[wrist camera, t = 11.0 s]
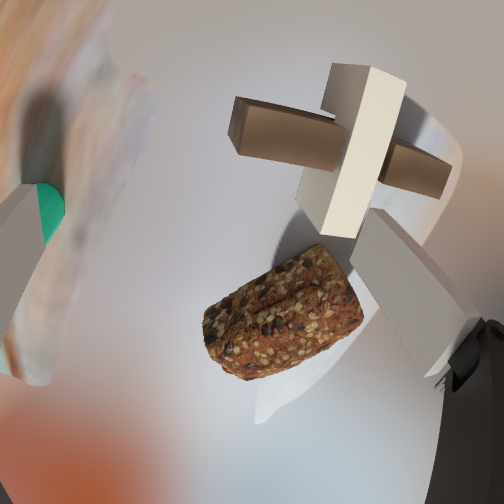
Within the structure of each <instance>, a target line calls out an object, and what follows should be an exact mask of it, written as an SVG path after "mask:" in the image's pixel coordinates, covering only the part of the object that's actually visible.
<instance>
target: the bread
mask: <svg viewBox="0 0 504 504" xmlns="http://www.w3.org/2000/svg"><path fill="white" fill-rule="evenodd" d="M363 319H364V315H363V311H362V309H361V307H360V303H359V301H358V298H357V296H356V294H355V292H354V290H353V288H352V286H351V285H350V283H349V281H348V279H347V278H346V276H345V274H344V273H343V271H342V270H341V268H340V266H339V265H338V264H337V262H336V261H335V259H334V258H333V257H332V255H331V254H330V253H329V251H328V249H326V248H325V247H324V246H323V245H322V244H319V245H316V246H311V247H310V248H309V249H308V250H307V251H306V252H305V253H303V254H301V255H299V256H297V257H295V258H294V259H290V260H288V261H286V262H284V263H282V264H281V265H278V266H277V267H276V268H274V269H272V270H270V271H269V272H267V273H265V274H263V275H262V276H260V277H258V278H256V279H254V280H252V281H250V282H249V283H247V284H245V285H244V286H242V287H240V288H239V289H238V290H237V291H235V292H234V293H231V294H229V296H228V297H225V298H223V299H222V300H221V301H220V302H218V303H216V304H215V305H212V306H210V307H209V308H208V309H207V310H206V311H205V312H204V320H203V322H202V324H203V326H202V327H203V336H204V342H205V346H206V348H207V350H208V353H209V355H210V357H211V358H212V360H214V361H216V362H217V363H219V364H221V366H222V368H223V370H224V371H225V372H226V373H230V374H234V375H235V376H237V377H238V378H240V379H243V380H246V381H248V380H253V379H256V378H264V377H266V376H268V375H273V374H275V373H279V372H281V371H284V370H288V369H290V368H291V367H294V366H297V365H299V364H300V363H301V362H302V361H304V360H306V359H309V358H311V357H312V356H315V355H316V354H318V353H320V352H321V351H325V350H327V349H329V348H330V346H332V345H333V344H334V343H335V342H337V341H338V340H341V339H343V338H344V337H346V336H348V335H349V334H350V333H351V332H352V331H354V330H356V328H357V327H358V326H360V324H361V323H362V322H363Z"/></svg>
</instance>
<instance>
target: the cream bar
mask: <svg viewBox="0 0 504 504" xmlns="http://www.w3.org/2000/svg"><path fill="white" fill-rule="evenodd" d="M406 86H407V82H406V81H403V80H401V79H399V78H397V77H395V76H393V75H390V74H388V73H386V72H383V71H381V70H379V69H376V68H374V67H372V66H362V65H350V64H335V63H332V66H331V70H330V74H329V78H328V82H327V86H326V89H325V93H324V97H323V101H322V105H321V108H320V109H322V110H324V111H327V112H329V113H331V114H334V115H336V117H335V120H334V123H336V124H338V125H340V126H342V127H344V128H346V129H347V130H346V133H345V136H344V140H343V143H342V146H341V150H340V153H339V156H338V160H337V163H336V166H335V169H334V172H330V171H325V170H320V169H316V168H311V167H306V166H305V167H304V170H303V174H302V178H301V181H300V184H299V188H298V191H297V195H296V199H295V200H296V201H297V203H298V204H299V205H300V207H301V208H302V210H303V211H304V212H305V214H306V215H307V217H308V218H309V219H310V221H311V222H312V224H313V225H314V227H315V228H316V229H317V231H318V232H319V234H322V235H331V236H339V237H347V238H354V239H355V238H356V236H357V233H358V231H359V228H360V225H361V223H362V220H363V218H364V215H365V212H366V210H367V207H368V204H369V202H370V199H371V196H372V193H373V191H374V188H375V185H376V182H377V179H378V176H379V173H380V171H381V168H382V165H383V162H384V159H385V156H386V153H387V150H388V146H389V143H390V140H391V137H392V134H393V131H394V127H395V124H396V121H397V117H398V114H399V111H400V107H401V104H402V100H403V97H404V93H405V89H406Z"/></svg>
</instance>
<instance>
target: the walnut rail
mask: <svg viewBox="0 0 504 504" xmlns="http://www.w3.org/2000/svg"><path fill="white" fill-rule="evenodd" d="M334 120H335V119H333V118H329V117H326V116H322V115H318V114H315V113H311V112H307V111H303V110H299V109H295V108H290V107H286V106H282V105H277V104H273V103H268V102H263V101H258V100H253V99H248V98H242V97H237V96H236V97H235V102H234V107H233V111H232V116H231V121H230V125H229V131H228V136H229V137H230V139H231V141H232V143H233V145H234V147H235V149H236V151H237V153H238V154H239V155H243V156H250V157H255V158H262V159H267V160H273V161H279V162H285V163H290V164H295V165H301V166H306V167H311V168H316V169H320V170H325V171H330V172H334V169H335V166H336V163H337V160H338V156H339V153H340V150H341V146H342V143H343V140H344V136H345V133H346V130H347V129H346V128H344V127H342V126H340V125H338V124H336V123H334ZM451 169H452V166H451V165H449V164H448V163H446V162H444V161H442V160H440V159H439V158H437V157H435V156H433V155H431V154H429V153H427V152H425V151H423V150H422V149H420V148H418V147H416V146H414V145H412V144H409V143H407V142H404V141H401V140H398V139H396V138H393V137H391V140H390V143H389V146H388V150H387V153H386V156H385V159H384V162H383V165H382V168H381V171H380V173H379V176H378V179H377V180H378V181H380V182H381V183H382V184H385V185H389V186H393V187H397V188H401V189H404V190H408V191H412V192H415V193H419V194H422V195H426V196H429V197H433V198H436V199H439V200H440V198H441V195H442V193H443V190H444V187H445V185H446V182H447V180H448V177H449V174H450V172H451Z"/></svg>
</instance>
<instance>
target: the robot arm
mask: <svg viewBox="0 0 504 504" xmlns="http://www.w3.org/2000/svg"><path fill="white" fill-rule="evenodd" d="M45 248H46V247H45V242H44V236H43V230H42V224H41V218H40V211H39V203H38V194H37V185H36V184H20V185H19V186H18V187H17V188H16V189H15V190H14V191H13V192H12V193H11V194H10V195H9V196H8V197H7V198H6V199H5V200H4V201H3V202H2V203H1V205H0V347H1V344H2V342H3V339H4V336H5V334H6V331H7V329H8V326H9V324H10V321H11V319H12V317H13V314H14V312H15V309H16V307H17V305H18V303H19V300H20V298H21V296H22V294H23V292H24V290H25V287H26V285H27V283H28V281H29V279H30V277H31V275H32V273H33V271H34V269H35V267H36V265H37V263H38V261H39V259H40V257H41V255H42V254H43V252H44V250H45ZM349 261H350V263H351V264H352V266H353V267H354V269H355V270H356V272H357V273H358V275H359V276H360V278H361V279H362V281H363V282H364V283H365V285H366V286H367V288H368V289H369V291H370V293H371V294H372V296H373V297H374V299H375V300H376V302H377V303H378V305H379V306H380V308H381V309H382V311H383V312H384V314H385V315H386V317H387V319H388V320H389V322H390V324H391V325H392V326H393V328H394V330H395V331H396V333H397V335H398V336H399V338H400V340H401V341H402V343H403V344H404V346H405V348H406V349H407V351H408V352H409V354H410V356H411V358H412V359H413V361H414V362H415V364H416V366H417V368H418V369H419V371H420V373H421V375H422V376H423V377H427V376H431V375H434V374H437V373H438V372H439V371H440V370H441V369H442V368H443V366H444V365H445V364H446V363H447V362H448V363H449V365H450V366H451V368H450V369H449V370H448V372H447V373H446V374H445V375H444V376H443V377H442V378H441V380H440V381H439V382H438V383H437V384H436V385H435V388H434V389H435V390H437V389H438V388H439V387H440V386H441V384H445V386H444V387H443V388H442V389H441V390H440V392H442V393H444V402H443V411H442V419H441V426H440V433H439V439H438V445H437V451H436V456H435V462H434V466H433V471H432V476H431V480H430V485H429V489H428V493H427V497H426V500H425V504H504V326H503V325H502V324H501V323H499V322H498V321H495V320H488V321H487V322H485V321H484V320H483V319H482V317H481V315H480V313H479V312H478V311H477V310H476V308H475V307H474V306H473V305H472V303H471V302H470V301H469V300H468V299H467V298H466V296H465V295H464V294H463V293H462V292H461V291H460V289H459V288H458V287H457V286H456V285H455V284H454V282H452V280H451V279H450V278H449V277H448V276H447V275H446V273H445V272H444V271H443V270H442V269H441V268H440V267H439V266H438V265H437V263H436V262H435V261H434V260H433V259H432V258H431V257H430V256H429V255H428V254H427V253H426V252H425V251H424V250H423V248H422V247H421V246H420V245H419V244H418V243H417V242H416V241H415V240H414V239H413V238H412V237H411V236H410V235H409V234H408V233H407V232H406V231H405V230H404V229H403V228H402V227H401V226H400V225H399V224H398V223H397V222H396V221H395V220H394V219H393V218H392V217H391V216H390V215H389V214H388V213H387V212H386V211H385V210H383V209H377V208H369V211H368V214H367V217H366V219H365V222H364V225H363V227H362V230H361V232H360V235H359V238H358V240H357V243H356V245H355V248H354V250H353V253H352V255H351V258H350V260H349ZM0 504H13V503H12V501H11V499H10V498H9V496H8V494H7V493H6V491H5V489H4V487H3V486H2V484H1V482H0Z"/></svg>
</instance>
